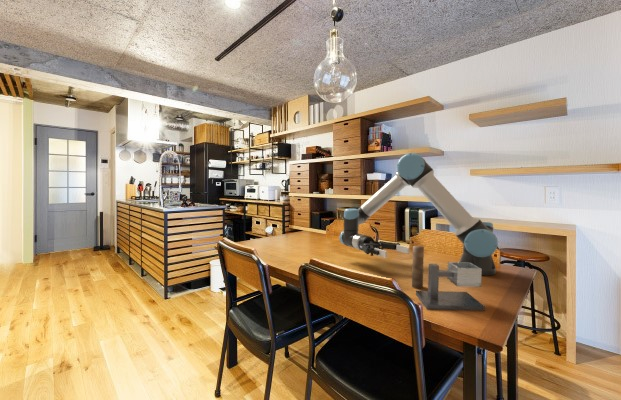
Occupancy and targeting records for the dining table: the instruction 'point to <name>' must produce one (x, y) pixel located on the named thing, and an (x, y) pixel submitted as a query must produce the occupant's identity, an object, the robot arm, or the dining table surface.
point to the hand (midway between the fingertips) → (397, 252)
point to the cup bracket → (445, 300)
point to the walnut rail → (417, 267)
